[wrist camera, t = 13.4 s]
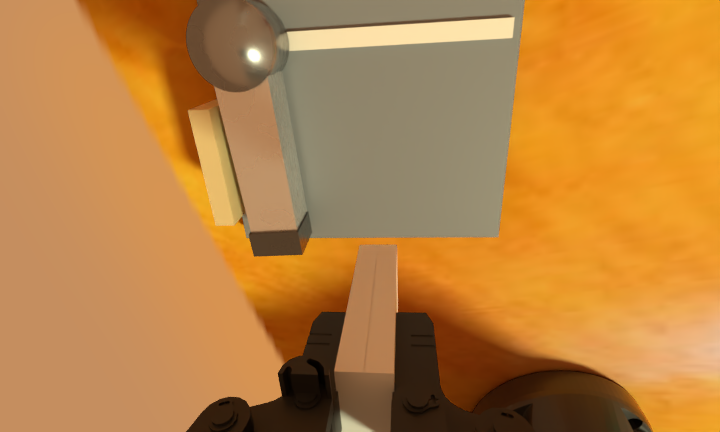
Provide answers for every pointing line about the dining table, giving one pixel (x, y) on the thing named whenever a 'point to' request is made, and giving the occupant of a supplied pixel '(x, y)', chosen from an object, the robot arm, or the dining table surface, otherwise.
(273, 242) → the lock bar
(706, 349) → the dining table surface
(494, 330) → the dining table surface
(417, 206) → the plate
